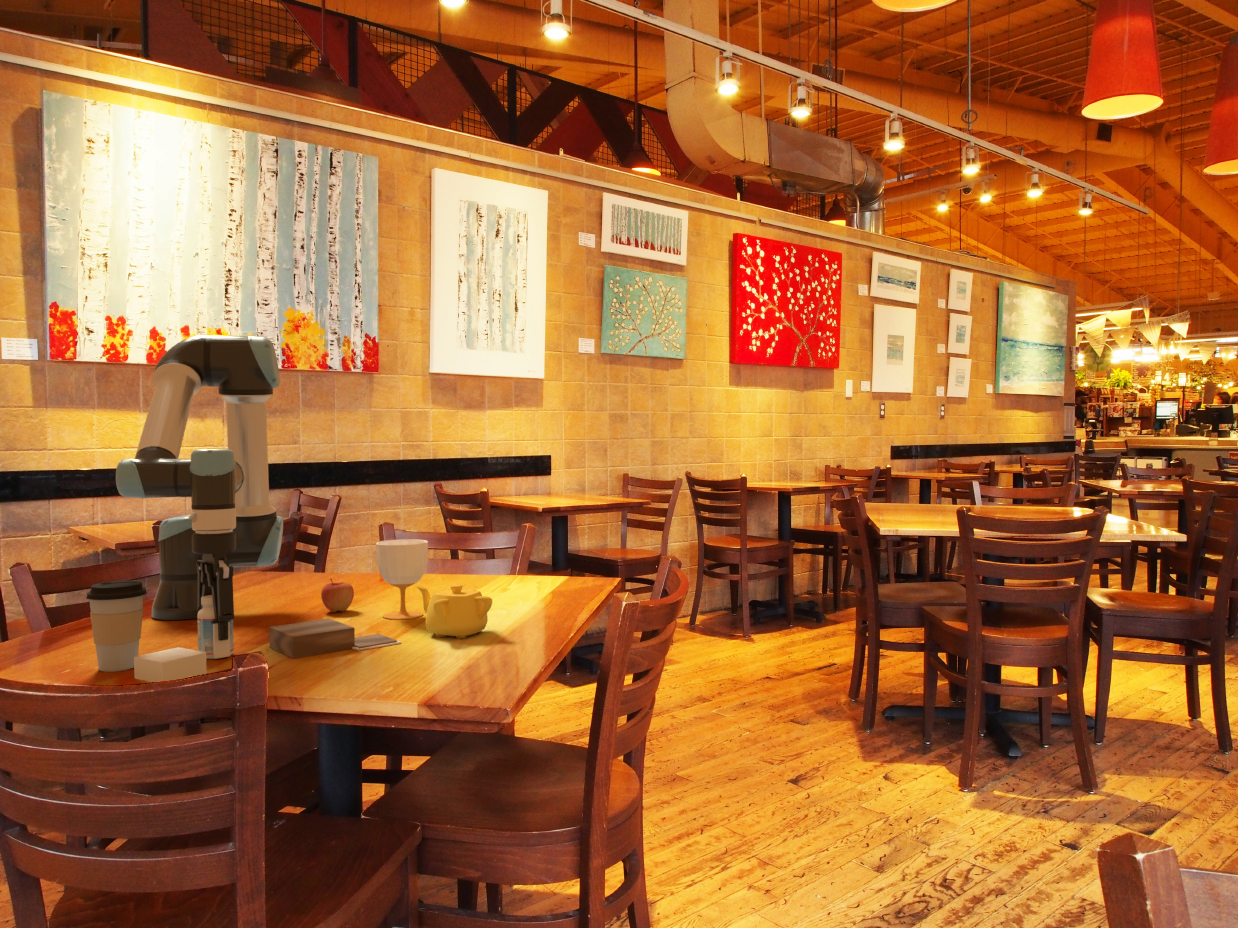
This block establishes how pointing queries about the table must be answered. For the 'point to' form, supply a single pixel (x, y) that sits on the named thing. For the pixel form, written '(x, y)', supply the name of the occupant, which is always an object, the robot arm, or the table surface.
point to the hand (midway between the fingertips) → (215, 653)
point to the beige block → (169, 665)
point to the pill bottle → (209, 628)
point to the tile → (373, 642)
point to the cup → (402, 568)
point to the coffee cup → (116, 622)
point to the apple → (337, 596)
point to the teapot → (455, 611)
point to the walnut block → (311, 637)
